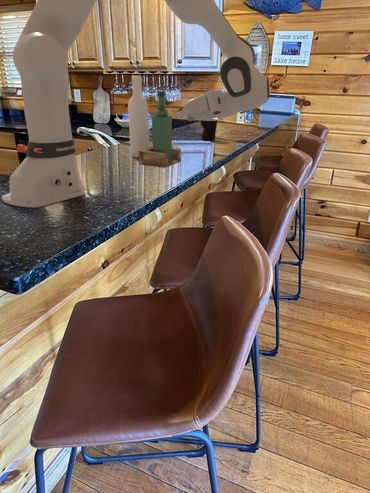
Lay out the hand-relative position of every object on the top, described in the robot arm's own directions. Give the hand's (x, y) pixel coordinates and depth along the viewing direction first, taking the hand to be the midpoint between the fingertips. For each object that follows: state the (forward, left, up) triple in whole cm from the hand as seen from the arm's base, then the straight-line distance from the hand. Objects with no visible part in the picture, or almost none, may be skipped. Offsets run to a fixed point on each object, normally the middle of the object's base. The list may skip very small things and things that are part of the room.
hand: (182, 117), depth 123 cm
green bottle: (+2, +10, -16) cm, 19 cm away
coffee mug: (+61, +18, -18) cm, 66 cm away
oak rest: (+2, +11, -17) cm, 20 cm away
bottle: (+9, +25, -18) cm, 32 cm away
